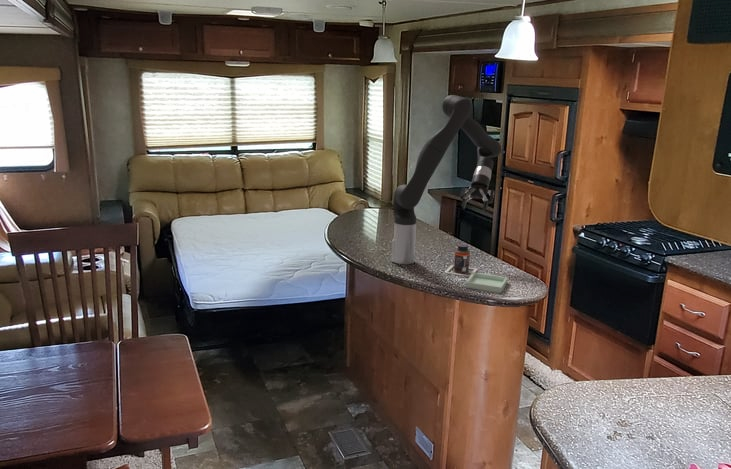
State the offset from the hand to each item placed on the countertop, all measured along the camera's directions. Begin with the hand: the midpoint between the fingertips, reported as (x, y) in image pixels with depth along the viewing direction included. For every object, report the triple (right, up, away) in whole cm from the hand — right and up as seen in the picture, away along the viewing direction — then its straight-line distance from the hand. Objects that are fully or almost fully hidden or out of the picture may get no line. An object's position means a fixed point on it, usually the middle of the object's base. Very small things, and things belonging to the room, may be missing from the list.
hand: (473, 209), depth 243 cm
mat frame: (-6, -26, -7) cm, 28 cm away
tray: (+1, -30, -23) cm, 38 cm away
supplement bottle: (-6, -26, -7) cm, 28 cm away
